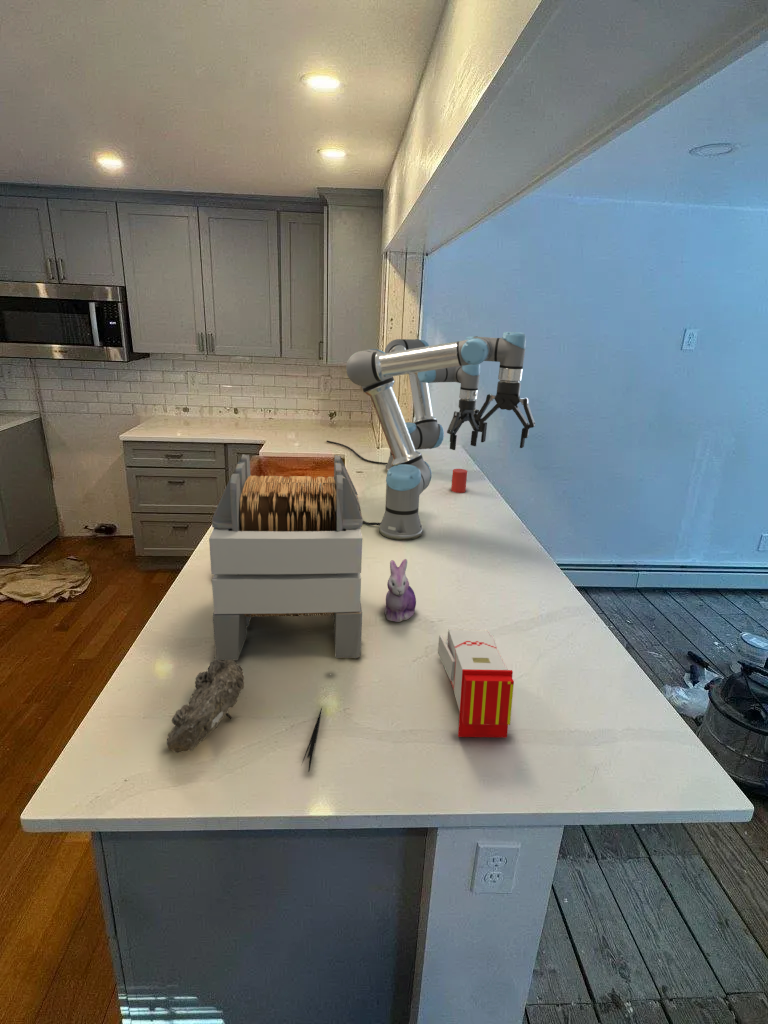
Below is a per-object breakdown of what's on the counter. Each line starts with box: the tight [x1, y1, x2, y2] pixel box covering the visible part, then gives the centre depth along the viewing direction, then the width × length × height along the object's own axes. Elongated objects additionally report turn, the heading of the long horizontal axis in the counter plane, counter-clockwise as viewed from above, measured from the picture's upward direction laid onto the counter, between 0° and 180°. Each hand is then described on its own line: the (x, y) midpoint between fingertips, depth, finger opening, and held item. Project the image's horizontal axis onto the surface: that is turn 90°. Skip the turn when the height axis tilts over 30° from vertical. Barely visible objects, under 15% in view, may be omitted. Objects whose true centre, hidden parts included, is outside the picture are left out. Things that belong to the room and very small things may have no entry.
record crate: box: [208, 453, 364, 661], centre depth 135 cm, size 34×33×41 cm
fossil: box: [166, 659, 245, 754], centre depth 106 cm, size 22×10×15 cm
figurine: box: [384, 558, 417, 623], centre depth 145 cm, size 9×10×15 cm
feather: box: [301, 673, 332, 771], centre depth 108 cm, size 2×28×2 cm
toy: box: [437, 628, 515, 738], centre depth 117 cm, size 12×13×30 cm
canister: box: [450, 468, 468, 494], centre depth 249 cm, size 6×6×9 cm
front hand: (502, 444), depth 194 cm, fingers open, 13 cm apart
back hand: (462, 447), depth 251 cm, fingers open, 13 cm apart
